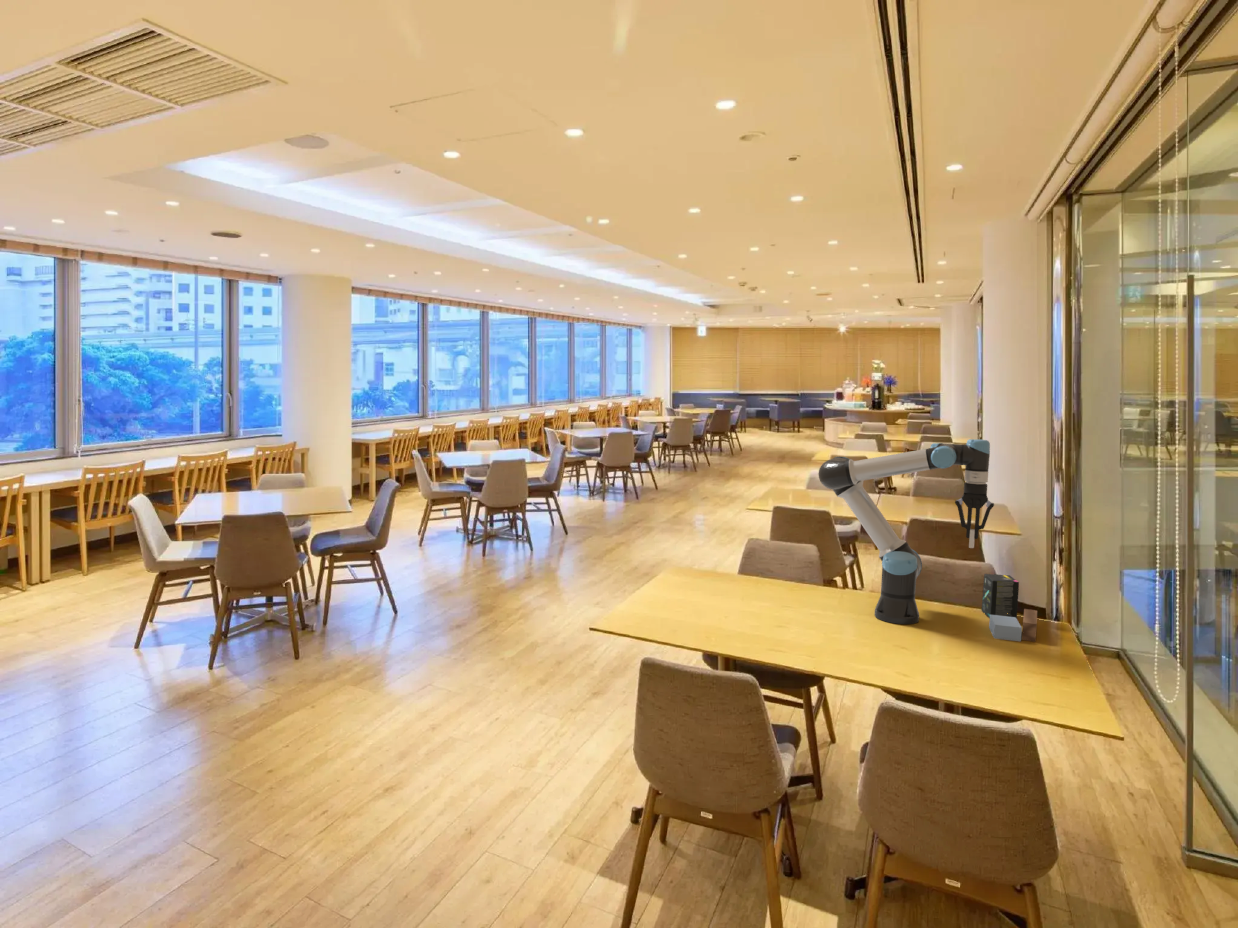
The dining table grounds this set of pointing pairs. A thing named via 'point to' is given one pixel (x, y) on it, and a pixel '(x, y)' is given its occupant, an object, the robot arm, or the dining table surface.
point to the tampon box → (1000, 595)
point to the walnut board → (1029, 625)
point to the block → (1005, 628)
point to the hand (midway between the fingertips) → (971, 547)
